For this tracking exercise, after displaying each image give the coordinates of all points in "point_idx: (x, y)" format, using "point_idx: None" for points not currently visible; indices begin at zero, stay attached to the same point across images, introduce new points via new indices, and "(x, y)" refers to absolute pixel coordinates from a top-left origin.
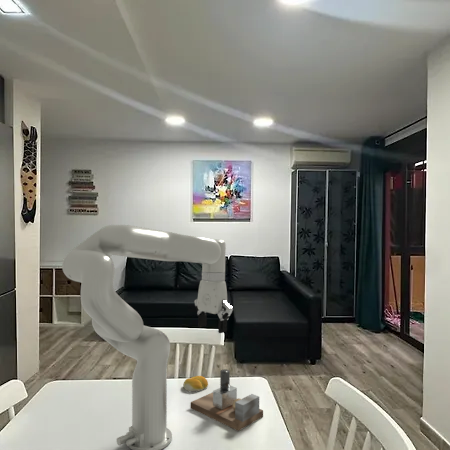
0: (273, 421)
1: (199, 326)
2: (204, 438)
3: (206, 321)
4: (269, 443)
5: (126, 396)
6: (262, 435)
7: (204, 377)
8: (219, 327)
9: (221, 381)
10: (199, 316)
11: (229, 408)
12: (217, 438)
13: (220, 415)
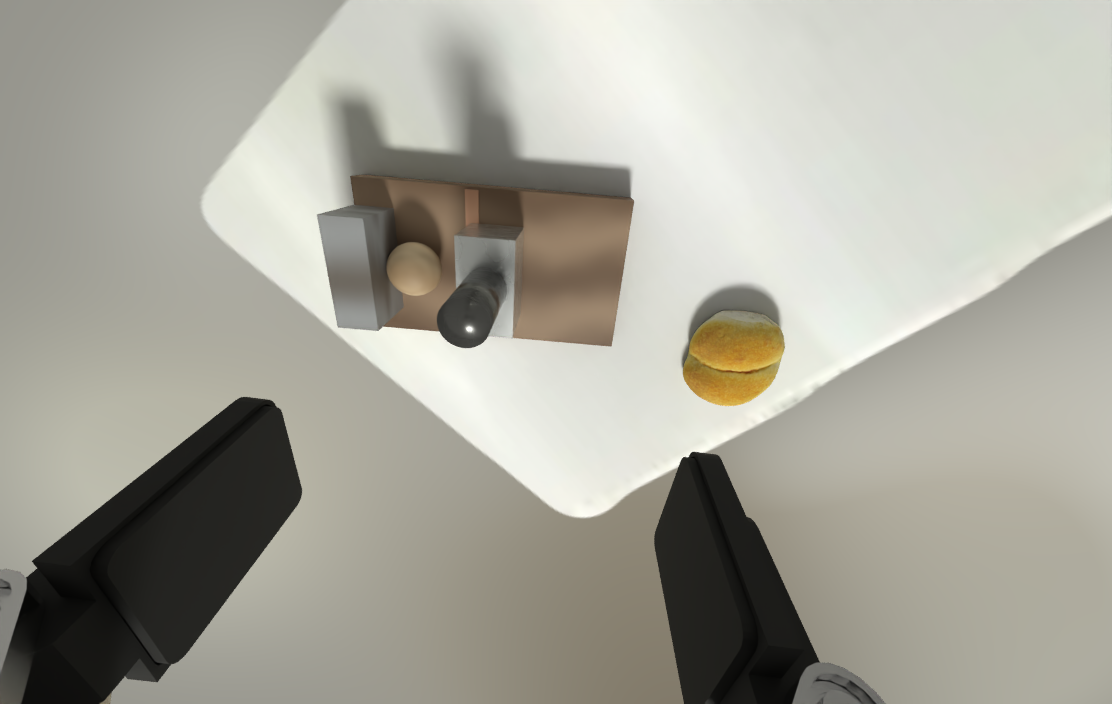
0: None
1: (695, 459)
2: (409, 25)
3: (664, 595)
4: (232, 177)
5: (995, 76)
6: (287, 207)
7: (717, 402)
8: (179, 449)
9: (477, 282)
10: (756, 618)
11: None
12: (374, 67)
13: (452, 188)
